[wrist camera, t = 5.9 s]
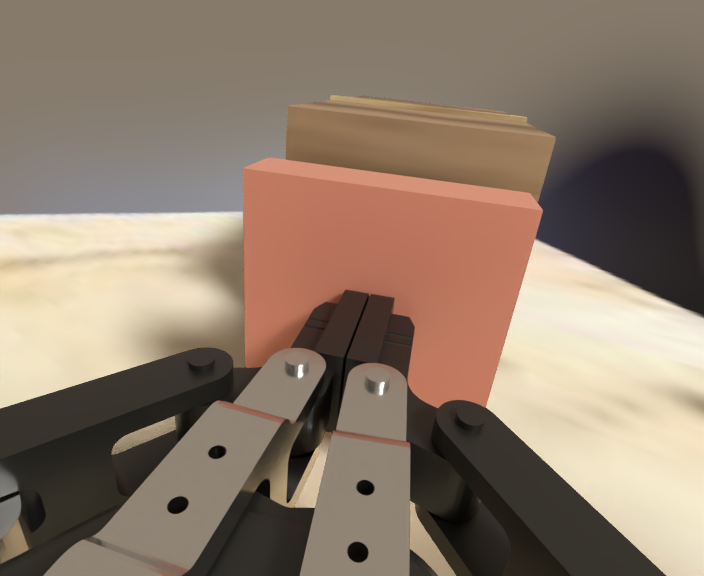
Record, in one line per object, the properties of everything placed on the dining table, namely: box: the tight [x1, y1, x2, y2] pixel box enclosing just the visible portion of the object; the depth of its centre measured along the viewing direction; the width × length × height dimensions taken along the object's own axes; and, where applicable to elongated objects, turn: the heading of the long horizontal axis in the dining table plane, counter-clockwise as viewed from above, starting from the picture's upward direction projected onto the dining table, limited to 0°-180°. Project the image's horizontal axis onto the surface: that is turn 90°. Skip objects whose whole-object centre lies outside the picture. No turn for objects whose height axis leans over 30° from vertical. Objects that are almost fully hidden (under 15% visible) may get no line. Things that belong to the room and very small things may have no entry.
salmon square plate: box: [243, 158, 543, 408], centre depth 22 cm, size 20×8×8 cm, turn 169°
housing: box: [286, 95, 556, 203], centre depth 31 cm, size 20×12×13 cm, turn 169°
